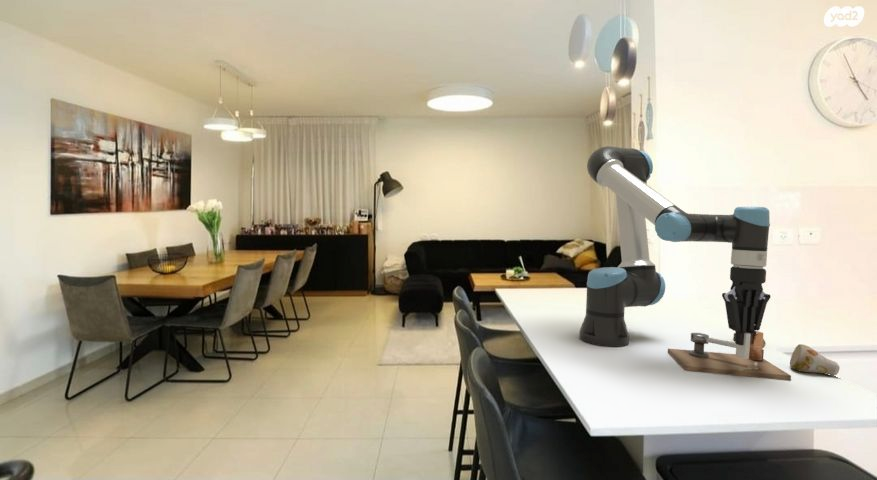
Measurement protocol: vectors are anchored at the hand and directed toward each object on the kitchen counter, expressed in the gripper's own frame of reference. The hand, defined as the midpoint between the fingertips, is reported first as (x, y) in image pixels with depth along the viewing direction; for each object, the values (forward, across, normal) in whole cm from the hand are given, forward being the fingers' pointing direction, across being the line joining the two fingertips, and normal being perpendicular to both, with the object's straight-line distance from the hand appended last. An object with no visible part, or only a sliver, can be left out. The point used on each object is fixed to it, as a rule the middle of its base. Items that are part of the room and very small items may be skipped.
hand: (742, 357), depth 113 cm
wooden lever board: (+4, +1, +6) cm, 8 cm away
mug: (+4, +21, -2) cm, 22 cm away
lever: (+1, +1, +7) cm, 7 cm away
